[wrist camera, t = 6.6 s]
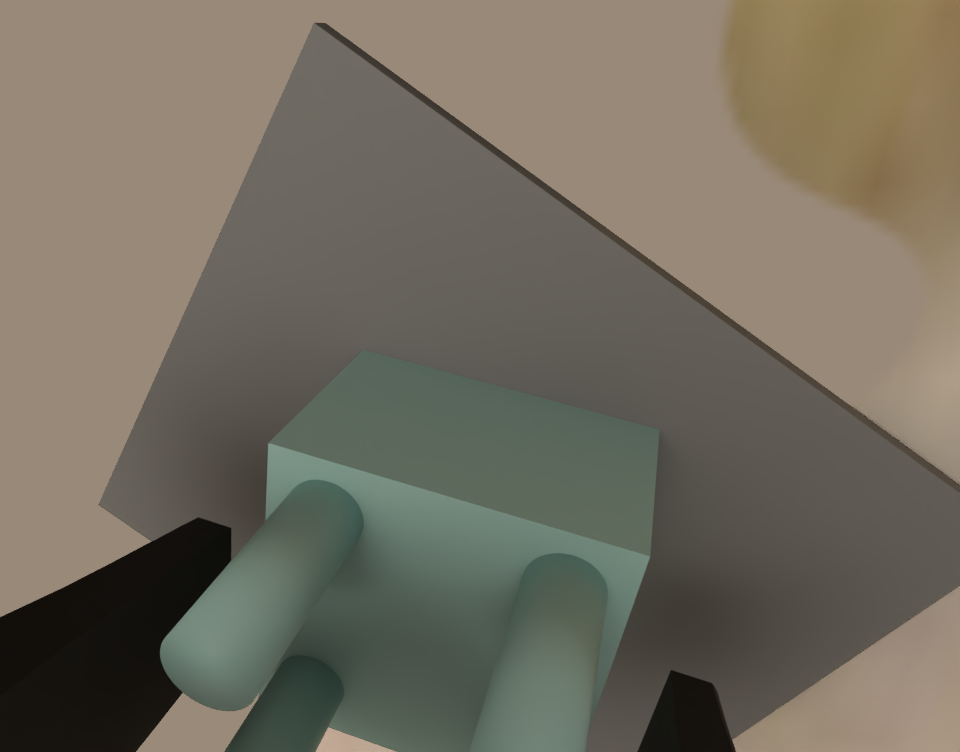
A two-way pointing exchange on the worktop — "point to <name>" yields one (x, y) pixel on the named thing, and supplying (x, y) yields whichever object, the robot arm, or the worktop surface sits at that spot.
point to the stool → (427, 570)
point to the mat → (539, 389)
